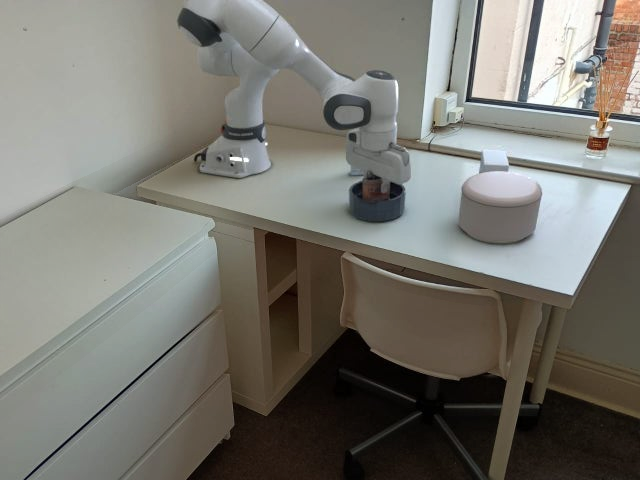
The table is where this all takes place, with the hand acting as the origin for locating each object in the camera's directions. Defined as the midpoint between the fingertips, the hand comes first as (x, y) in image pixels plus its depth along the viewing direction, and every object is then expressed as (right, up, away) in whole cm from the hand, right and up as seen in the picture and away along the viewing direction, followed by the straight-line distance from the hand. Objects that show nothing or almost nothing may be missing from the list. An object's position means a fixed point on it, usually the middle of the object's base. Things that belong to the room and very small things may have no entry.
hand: (376, 189), depth 174 cm
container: (+27, -11, -10) cm, 31 cm away
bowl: (+1, -5, +4) cm, 6 cm away
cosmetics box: (+32, 0, +6) cm, 33 cm away
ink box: (+3, +9, +24) cm, 26 cm away
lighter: (0, -3, +3) cm, 4 cm away
